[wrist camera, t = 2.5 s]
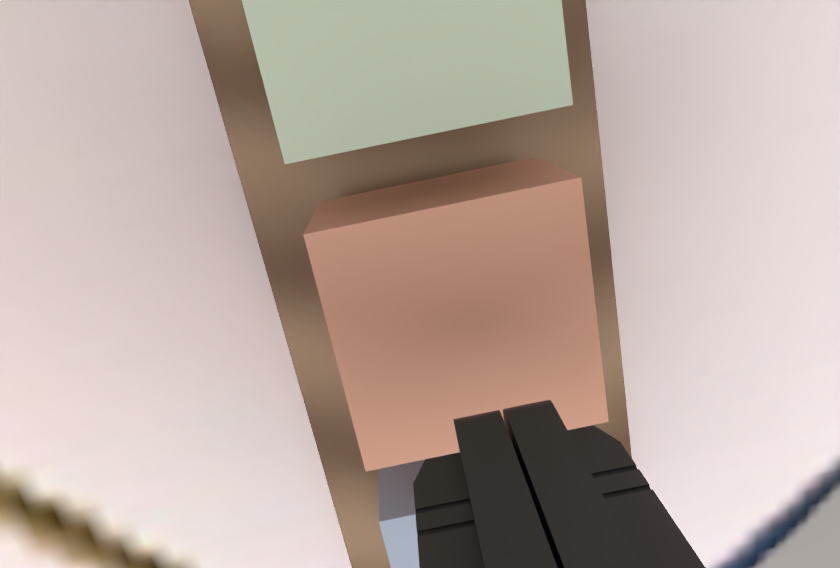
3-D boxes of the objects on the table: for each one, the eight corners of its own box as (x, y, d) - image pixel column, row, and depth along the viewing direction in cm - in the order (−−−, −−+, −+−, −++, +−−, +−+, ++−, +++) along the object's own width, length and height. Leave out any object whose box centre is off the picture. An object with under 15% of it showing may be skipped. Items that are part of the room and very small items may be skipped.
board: (164, -118, 17) (120, -159, 14) (553, -199, 17) (588, -256, 14) (357, 565, 25) (354, 628, 22) (628, 509, 25) (660, 565, 22)
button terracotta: (320, 201, 17) (303, 234, 13) (536, 156, 17) (581, 177, 13) (368, 394, 19) (365, 471, 15) (563, 354, 19) (609, 421, 15)
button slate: (378, 436, 19) (378, 522, 15) (569, 398, 19) (614, 473, 15) (416, 587, 21) (424, 695, 17) (589, 552, 21) (634, 652, 17)
